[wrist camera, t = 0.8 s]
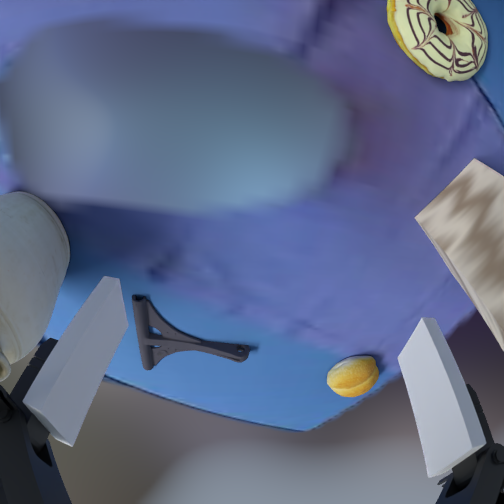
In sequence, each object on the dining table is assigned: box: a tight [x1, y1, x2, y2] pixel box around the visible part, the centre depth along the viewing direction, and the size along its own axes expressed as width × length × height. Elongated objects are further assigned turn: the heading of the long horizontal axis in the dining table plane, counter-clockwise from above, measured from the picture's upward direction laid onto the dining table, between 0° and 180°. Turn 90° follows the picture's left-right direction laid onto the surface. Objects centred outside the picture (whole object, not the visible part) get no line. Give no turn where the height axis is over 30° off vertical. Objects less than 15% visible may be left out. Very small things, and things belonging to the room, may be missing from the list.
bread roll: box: [327, 356, 379, 397], centre depth 42 cm, size 8×9×4 cm
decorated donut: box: [387, 0, 488, 82], centre depth 15 cm, size 10×11×4 cm
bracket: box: [132, 295, 250, 370], centre depth 37 cm, size 14×15×3 cm
